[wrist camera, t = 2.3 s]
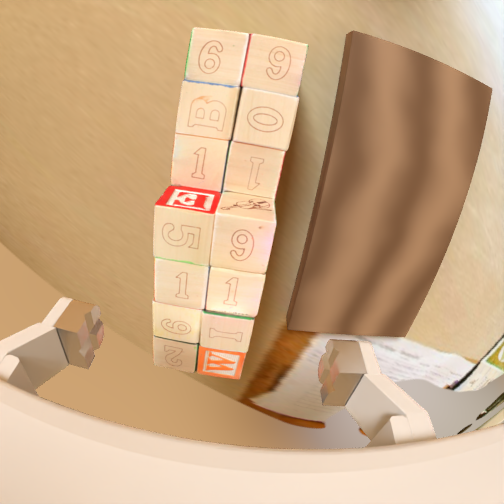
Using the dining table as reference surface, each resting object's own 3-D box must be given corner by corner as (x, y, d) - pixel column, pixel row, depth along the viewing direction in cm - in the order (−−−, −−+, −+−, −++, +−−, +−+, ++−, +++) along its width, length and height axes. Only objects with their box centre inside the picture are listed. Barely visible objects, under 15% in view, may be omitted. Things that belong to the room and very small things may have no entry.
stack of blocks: (215, 45, 21) (179, 12, 10) (294, 59, 22) (325, 34, 11) (183, 273, 31) (151, 368, 21) (245, 284, 32) (239, 383, 21)
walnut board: (286, 316, 34) (287, 329, 32) (346, 34, 20) (353, 30, 18) (399, 325, 34) (405, 336, 33) (479, 86, 21) (492, 88, 19)
